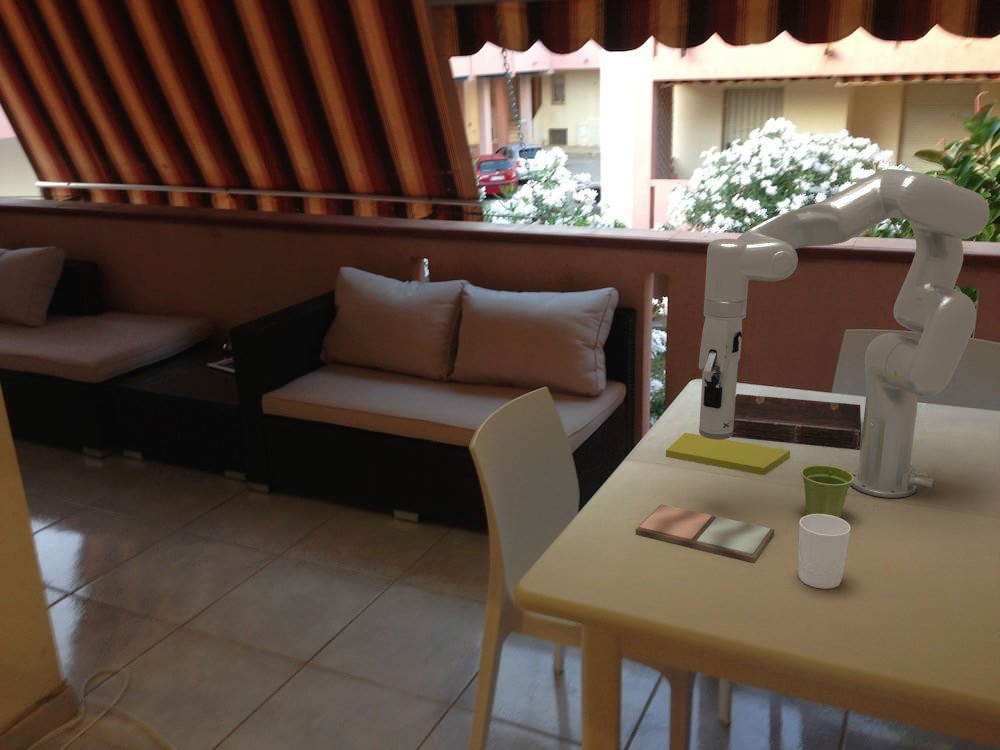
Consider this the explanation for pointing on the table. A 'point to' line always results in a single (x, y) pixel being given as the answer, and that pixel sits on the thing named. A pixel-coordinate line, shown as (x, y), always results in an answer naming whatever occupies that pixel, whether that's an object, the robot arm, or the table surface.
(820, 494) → the plant pot
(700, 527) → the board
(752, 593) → the table surface
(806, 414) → the hardback book
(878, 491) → the robot arm
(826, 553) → the white cup
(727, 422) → the travel mug
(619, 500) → the table surface
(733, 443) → the flat olive board
